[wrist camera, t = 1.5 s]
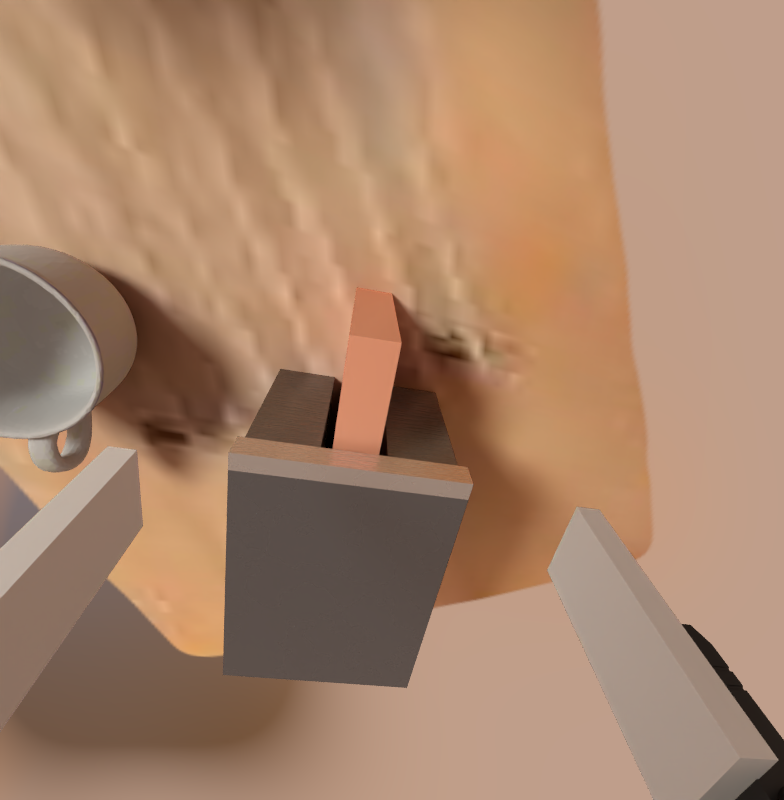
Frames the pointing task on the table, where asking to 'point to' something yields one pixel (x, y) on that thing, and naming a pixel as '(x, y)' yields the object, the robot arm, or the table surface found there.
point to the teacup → (58, 350)
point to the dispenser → (336, 538)
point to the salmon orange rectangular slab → (368, 373)
